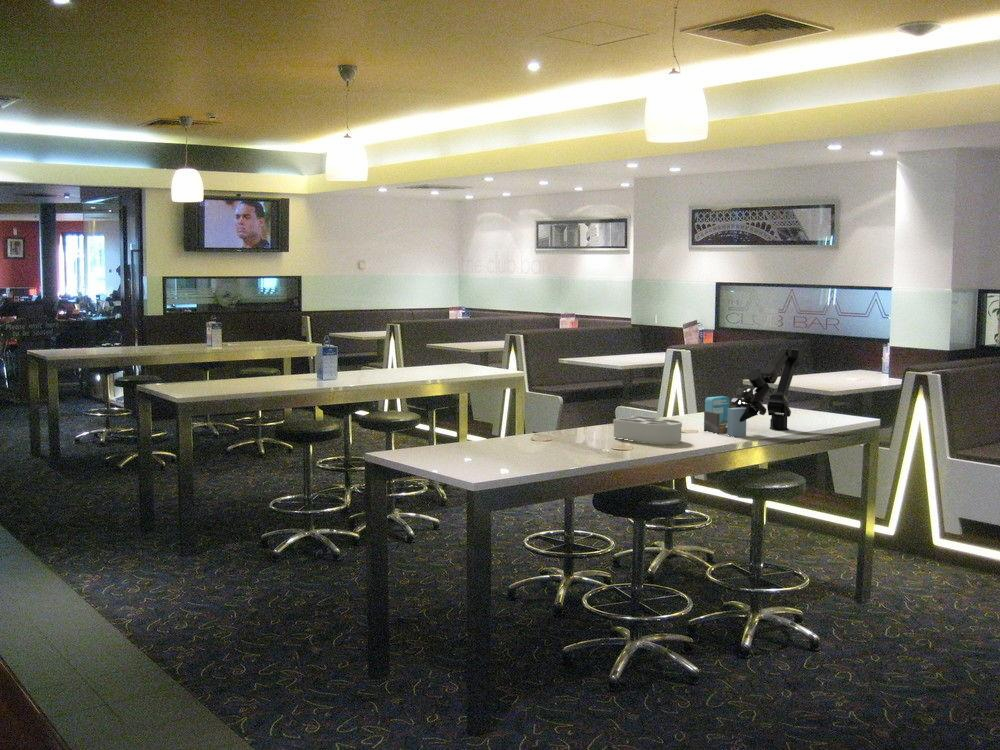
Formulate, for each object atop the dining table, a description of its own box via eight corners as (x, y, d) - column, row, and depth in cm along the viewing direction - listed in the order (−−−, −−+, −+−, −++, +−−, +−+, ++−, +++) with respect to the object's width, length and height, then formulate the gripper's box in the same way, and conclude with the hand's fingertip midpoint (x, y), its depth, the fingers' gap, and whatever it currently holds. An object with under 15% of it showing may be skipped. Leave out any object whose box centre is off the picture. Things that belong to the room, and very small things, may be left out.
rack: (724, 429, 460) (724, 409, 459) (737, 432, 451) (738, 412, 450) (703, 430, 455) (704, 411, 454) (717, 434, 446) (717, 413, 445)
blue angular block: (740, 434, 444) (740, 407, 443) (746, 435, 441) (746, 408, 439) (727, 435, 441) (727, 408, 440) (732, 437, 438) (733, 409, 437)
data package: (711, 423, 477) (712, 398, 476) (704, 422, 481) (704, 397, 479) (729, 421, 484) (729, 396, 482) (722, 420, 487) (722, 395, 486)
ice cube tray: (637, 435, 447) (637, 415, 446) (689, 442, 427) (689, 422, 426) (612, 439, 436) (612, 419, 435) (665, 447, 415) (665, 426, 415)
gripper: (734, 379, 449) (713, 406, 446) (761, 383, 432) (739, 411, 429) (748, 396, 453) (728, 422, 450) (775, 401, 436) (754, 428, 433)
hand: (737, 420), depth 440 cm, fingers closed on blue angular block, 4 cm apart
